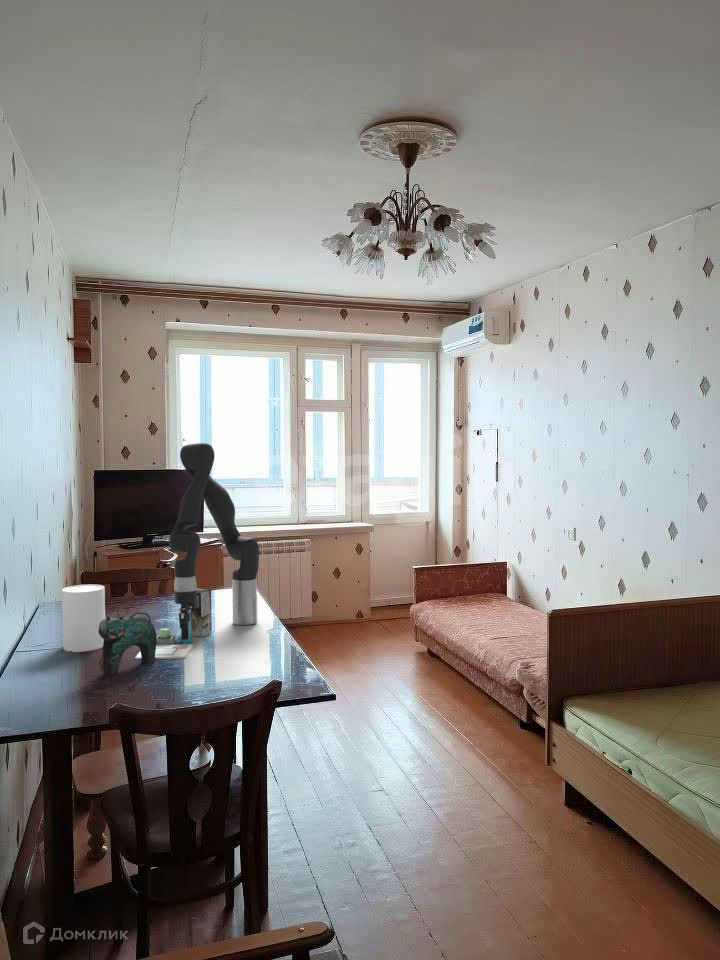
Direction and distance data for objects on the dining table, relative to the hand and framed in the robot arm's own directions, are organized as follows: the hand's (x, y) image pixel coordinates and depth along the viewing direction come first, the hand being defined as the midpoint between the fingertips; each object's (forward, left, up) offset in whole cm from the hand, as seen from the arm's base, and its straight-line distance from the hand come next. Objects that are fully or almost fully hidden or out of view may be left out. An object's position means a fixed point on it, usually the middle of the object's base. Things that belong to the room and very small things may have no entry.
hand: (186, 637), depth 247 cm
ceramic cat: (+13, +27, -2) cm, 30 cm away
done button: (+7, +1, 0) cm, 7 cm away
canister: (+34, +2, -2) cm, 34 cm away
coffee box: (-2, -11, -2) cm, 11 cm away
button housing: (+7, +2, -2) cm, 7 cm away
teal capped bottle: (0, 0, -2) cm, 2 cm away
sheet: (+5, +12, -2) cm, 13 cm away
